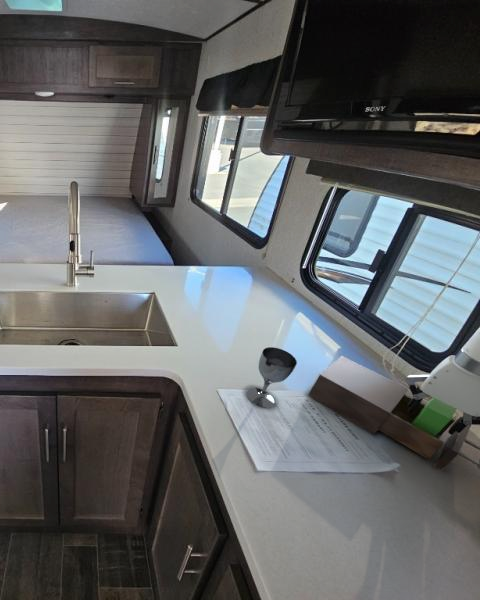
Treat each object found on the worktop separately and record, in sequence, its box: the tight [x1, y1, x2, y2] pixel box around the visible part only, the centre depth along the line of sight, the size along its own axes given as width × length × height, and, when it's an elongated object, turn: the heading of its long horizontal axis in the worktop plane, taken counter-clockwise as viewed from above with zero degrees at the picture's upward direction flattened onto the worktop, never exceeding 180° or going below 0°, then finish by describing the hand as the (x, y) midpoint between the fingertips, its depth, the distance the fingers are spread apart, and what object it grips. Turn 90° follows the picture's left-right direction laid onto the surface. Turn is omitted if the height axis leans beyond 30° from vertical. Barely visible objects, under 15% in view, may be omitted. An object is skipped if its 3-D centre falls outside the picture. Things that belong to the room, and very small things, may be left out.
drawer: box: [377, 393, 480, 471], centre depth 78 cm, size 19×13×6 cm
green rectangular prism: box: [411, 397, 457, 437], centre depth 77 cm, size 4×7×10 cm, turn 125°
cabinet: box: [307, 355, 409, 436], centre depth 88 cm, size 16×15×8 cm
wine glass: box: [246, 346, 298, 409], centre depth 87 cm, size 8×8×15 cm
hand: (430, 419), depth 77 cm, fingers open, 6 cm apart
